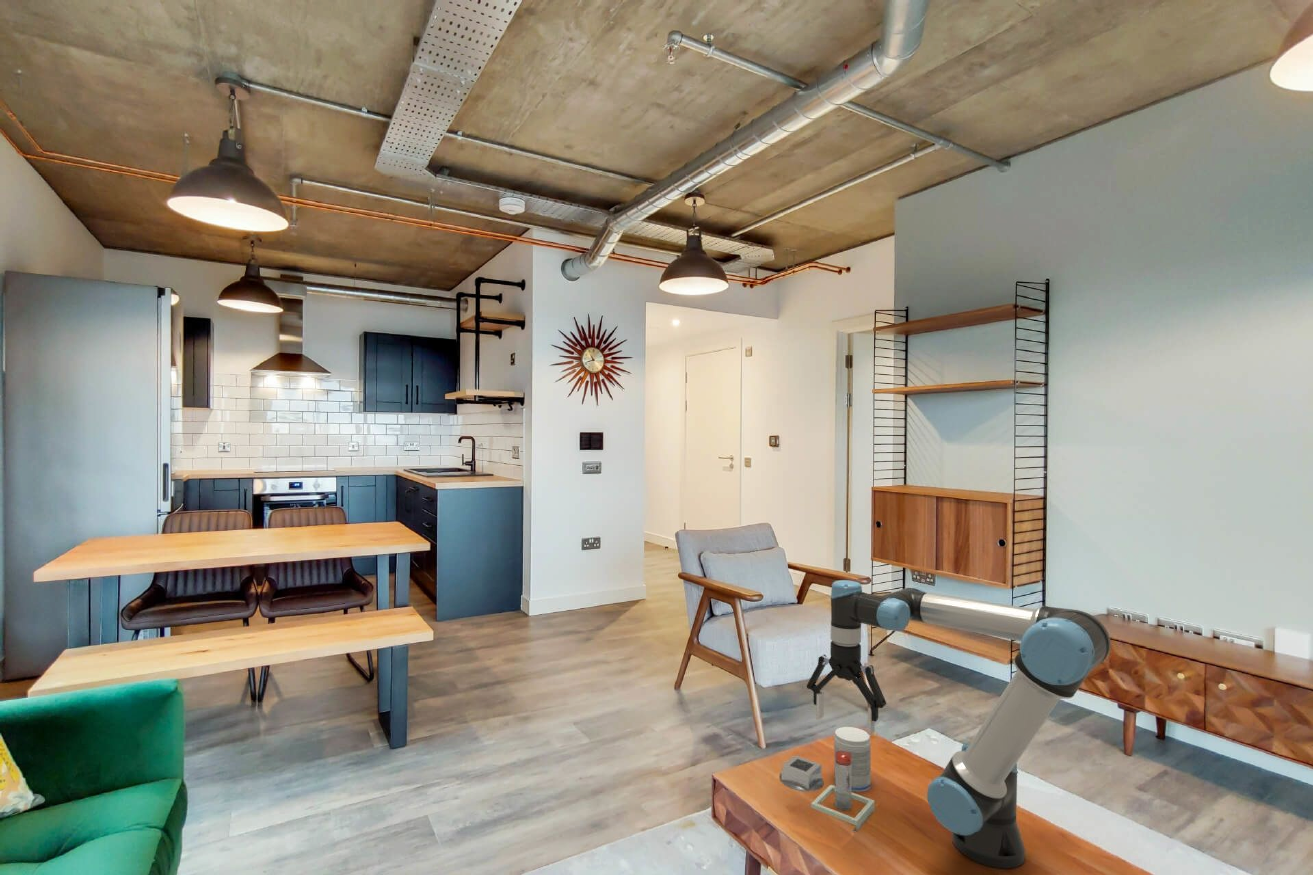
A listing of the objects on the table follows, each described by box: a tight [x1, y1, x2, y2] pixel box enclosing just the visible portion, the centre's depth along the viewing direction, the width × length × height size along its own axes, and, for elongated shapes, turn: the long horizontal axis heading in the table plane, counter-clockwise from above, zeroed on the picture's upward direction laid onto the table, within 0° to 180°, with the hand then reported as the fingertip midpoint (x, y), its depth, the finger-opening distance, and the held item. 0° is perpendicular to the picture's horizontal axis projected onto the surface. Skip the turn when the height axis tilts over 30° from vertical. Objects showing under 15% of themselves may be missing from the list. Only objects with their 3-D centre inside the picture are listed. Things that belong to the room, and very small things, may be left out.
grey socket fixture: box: [778, 755, 825, 793], centre depth 177 cm, size 12×12×6 cm
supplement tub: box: [833, 726, 872, 792], centre depth 177 cm, size 10×10×15 cm
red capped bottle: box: [834, 751, 852, 812], centre depth 165 cm, size 4×4×14 cm
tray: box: [810, 784, 876, 832], centre depth 165 cm, size 12×12×2 cm
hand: (844, 725), depth 165 cm, fingers open, 13 cm apart
